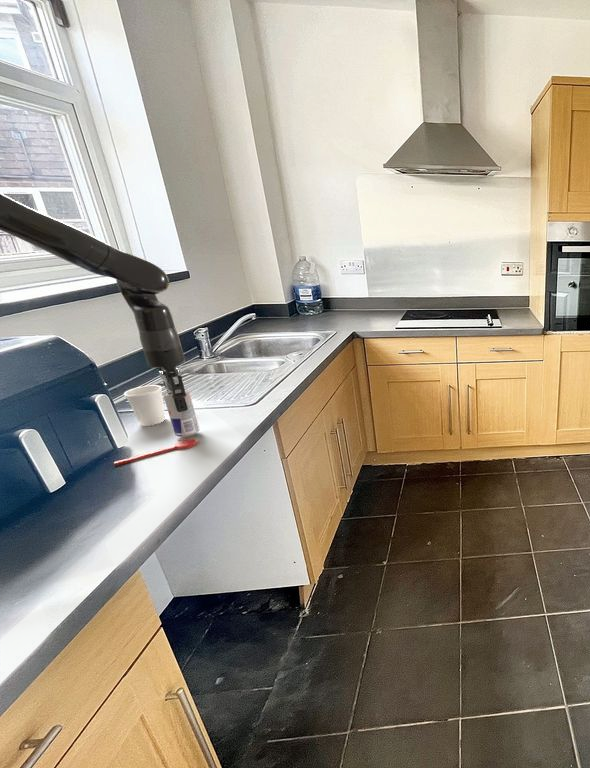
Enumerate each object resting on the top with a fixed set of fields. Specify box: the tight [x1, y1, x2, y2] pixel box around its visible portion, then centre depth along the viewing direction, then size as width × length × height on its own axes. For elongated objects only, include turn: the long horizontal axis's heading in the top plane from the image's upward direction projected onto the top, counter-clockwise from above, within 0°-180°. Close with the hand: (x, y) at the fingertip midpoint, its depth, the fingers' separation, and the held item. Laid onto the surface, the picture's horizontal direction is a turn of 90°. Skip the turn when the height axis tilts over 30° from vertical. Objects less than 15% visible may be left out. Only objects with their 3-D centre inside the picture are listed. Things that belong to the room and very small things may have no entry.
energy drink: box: [163, 388, 200, 438], centre depth 110 cm, size 5×5×12 cm
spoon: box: [113, 438, 198, 467], centre depth 103 cm, size 16×4×1 cm, turn 136°
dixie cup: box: [123, 384, 166, 427], centre depth 119 cm, size 8×8×10 cm
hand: (180, 407), depth 110 cm, fingers closed on energy drink, 5 cm apart
